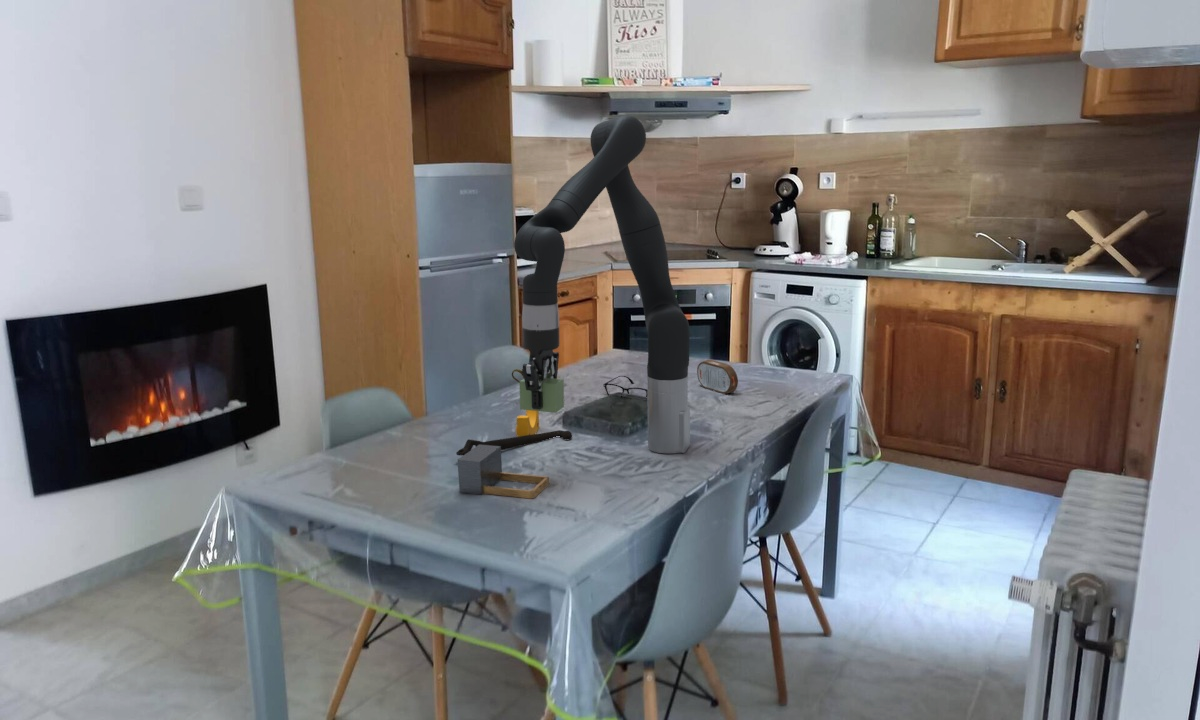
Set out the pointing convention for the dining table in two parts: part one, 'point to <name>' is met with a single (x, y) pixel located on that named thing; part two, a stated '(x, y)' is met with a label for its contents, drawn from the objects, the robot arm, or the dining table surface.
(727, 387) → the tin
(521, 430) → the pipe clamp
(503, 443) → the wrench
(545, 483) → the grey block with frame
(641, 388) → the eyeglasses
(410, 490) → the dining table surface
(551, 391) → the sage green upright block
